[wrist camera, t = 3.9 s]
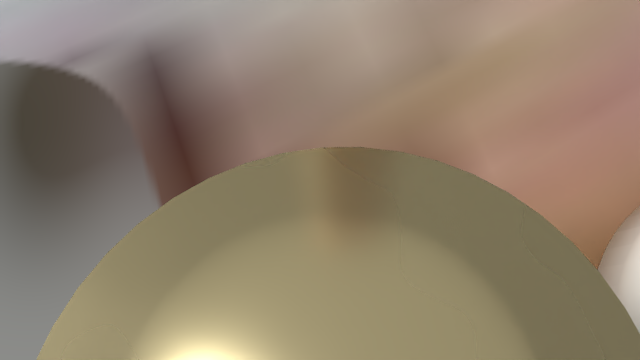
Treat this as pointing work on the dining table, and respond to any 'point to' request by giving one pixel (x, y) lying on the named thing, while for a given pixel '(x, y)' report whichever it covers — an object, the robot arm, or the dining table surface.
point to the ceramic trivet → (625, 265)
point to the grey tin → (344, 272)
